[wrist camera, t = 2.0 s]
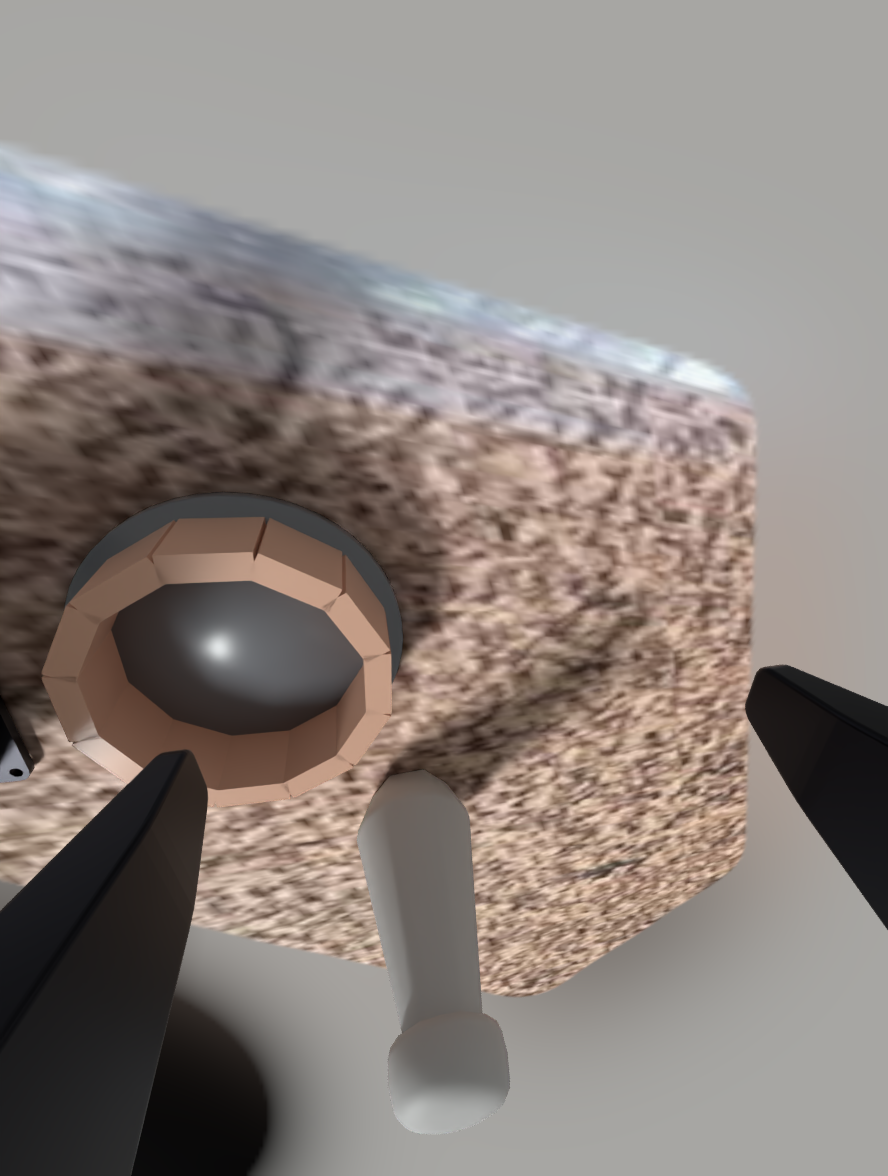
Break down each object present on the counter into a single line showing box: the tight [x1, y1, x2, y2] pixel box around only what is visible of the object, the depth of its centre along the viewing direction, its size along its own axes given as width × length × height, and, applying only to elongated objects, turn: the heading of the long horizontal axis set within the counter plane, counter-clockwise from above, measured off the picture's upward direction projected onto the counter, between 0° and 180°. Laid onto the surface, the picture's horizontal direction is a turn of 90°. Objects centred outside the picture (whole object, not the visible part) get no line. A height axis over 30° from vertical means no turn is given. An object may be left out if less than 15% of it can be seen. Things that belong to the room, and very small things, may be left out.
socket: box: [41, 492, 403, 807], centre depth 20 cm, size 13×13×4 cm
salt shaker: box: [357, 769, 510, 1134], centre depth 23 cm, size 6×6×13 cm
